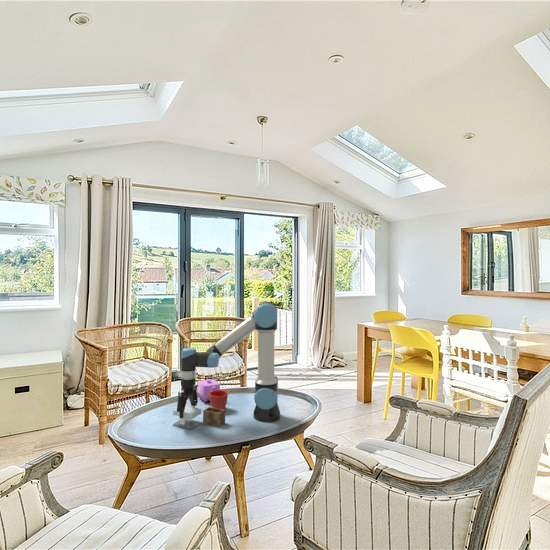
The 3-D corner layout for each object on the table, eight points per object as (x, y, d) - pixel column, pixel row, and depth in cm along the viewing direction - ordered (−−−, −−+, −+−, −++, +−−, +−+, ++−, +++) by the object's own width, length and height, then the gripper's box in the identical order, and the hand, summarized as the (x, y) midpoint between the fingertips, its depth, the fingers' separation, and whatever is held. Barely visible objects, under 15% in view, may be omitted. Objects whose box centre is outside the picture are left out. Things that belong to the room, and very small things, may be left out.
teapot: (196, 396, 239) (197, 377, 239) (211, 394, 243) (212, 375, 243) (206, 406, 221) (206, 385, 221) (222, 404, 226) (222, 383, 226)
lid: (201, 416, 197) (201, 408, 197) (192, 421, 190) (192, 414, 190) (182, 412, 201) (182, 405, 201) (173, 417, 194) (173, 410, 194)
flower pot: (224, 413, 211) (224, 396, 211) (206, 411, 213) (206, 395, 213) (230, 407, 221) (230, 390, 221) (212, 405, 223) (213, 389, 223)
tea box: (225, 422, 198) (225, 409, 198) (219, 426, 193) (219, 413, 193) (209, 419, 202) (209, 406, 202) (202, 423, 197) (203, 410, 197)
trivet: (201, 423, 197) (201, 421, 197) (192, 429, 189) (192, 428, 189) (183, 419, 202) (183, 418, 202) (172, 425, 194) (172, 424, 194)
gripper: (193, 372, 206) (192, 412, 207) (169, 382, 187) (168, 427, 187) (205, 373, 204) (204, 415, 204) (182, 384, 184) (181, 429, 184)
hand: (187, 420), depth 195 cm, fingers closed on lid, 8 cm apart
